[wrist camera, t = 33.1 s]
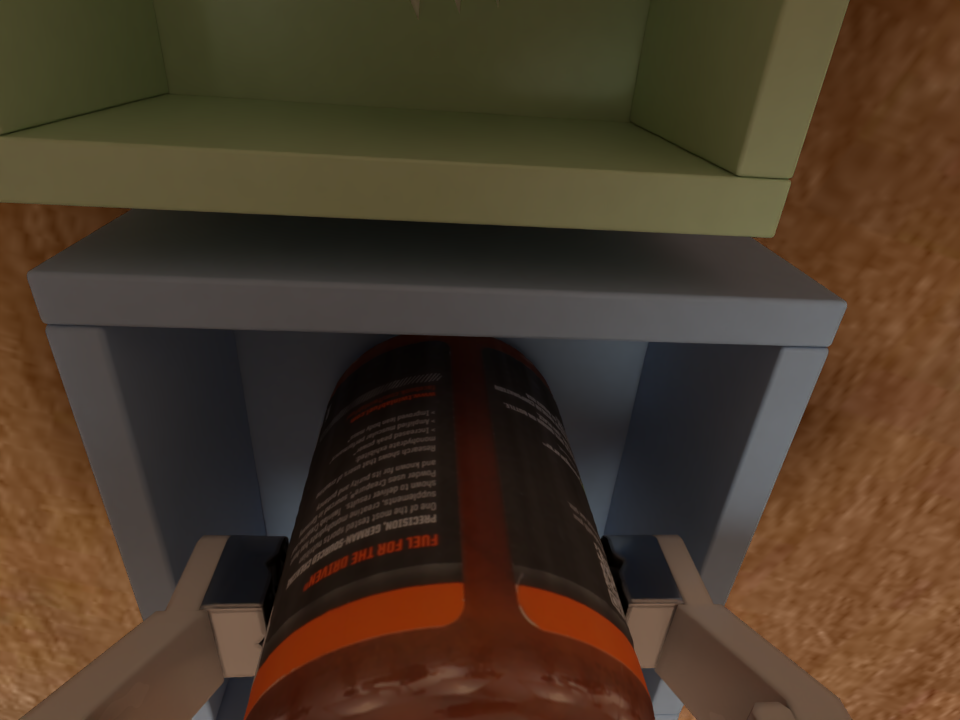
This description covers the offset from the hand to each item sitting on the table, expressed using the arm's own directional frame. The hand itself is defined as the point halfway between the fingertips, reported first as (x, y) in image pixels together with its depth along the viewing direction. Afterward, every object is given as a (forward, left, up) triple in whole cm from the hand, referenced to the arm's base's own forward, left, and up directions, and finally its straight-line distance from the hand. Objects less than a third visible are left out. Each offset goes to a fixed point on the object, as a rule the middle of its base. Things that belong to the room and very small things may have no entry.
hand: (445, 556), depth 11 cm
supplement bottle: (0, 0, -5) cm, 5 cm away
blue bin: (0, 0, -5) cm, 5 cm away
